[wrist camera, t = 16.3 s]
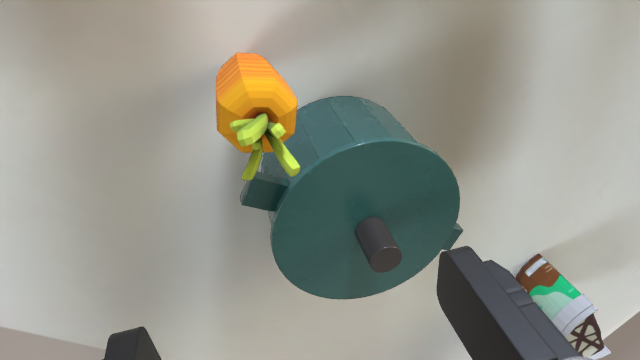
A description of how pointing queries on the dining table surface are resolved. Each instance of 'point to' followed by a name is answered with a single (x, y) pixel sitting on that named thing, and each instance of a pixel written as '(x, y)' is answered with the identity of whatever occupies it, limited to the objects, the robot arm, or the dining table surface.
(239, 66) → the carrot
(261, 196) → the pot
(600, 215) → the dining table surface
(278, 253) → the pot lid
